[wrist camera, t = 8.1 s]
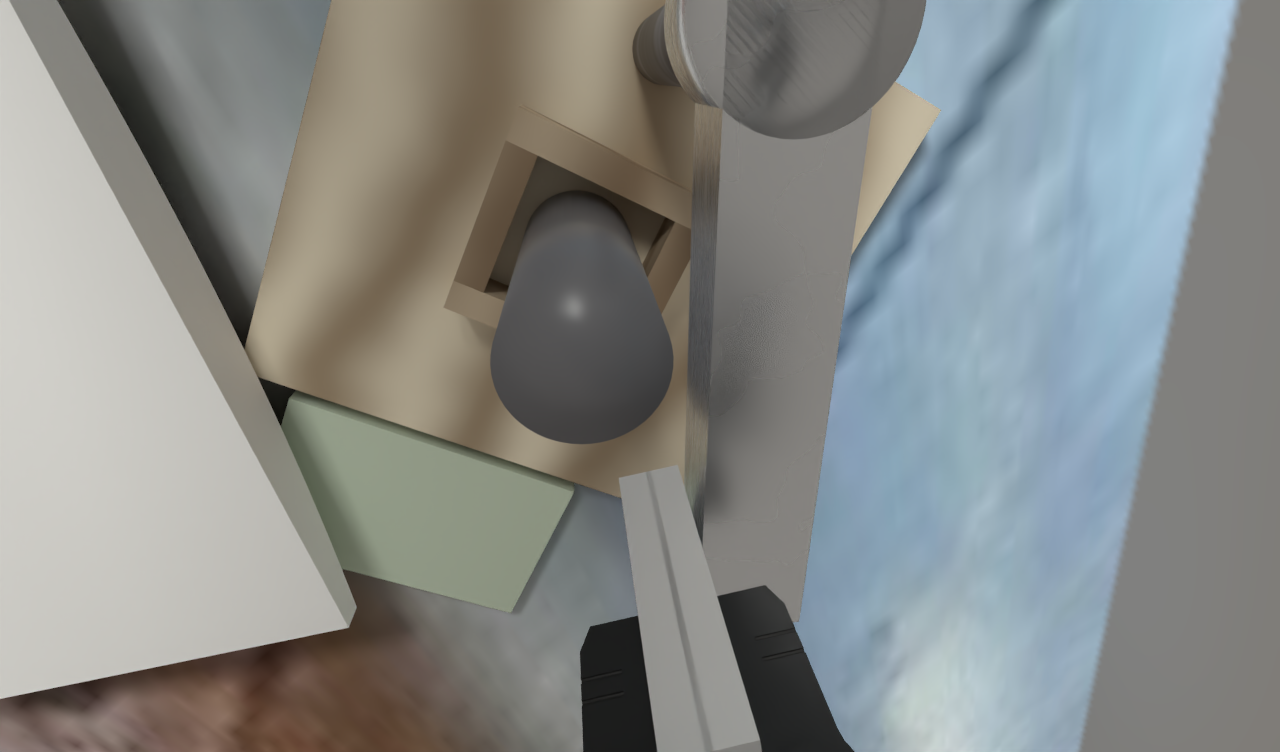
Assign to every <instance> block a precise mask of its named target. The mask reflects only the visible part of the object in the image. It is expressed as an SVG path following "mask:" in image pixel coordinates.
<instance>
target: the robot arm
mask: <svg viewBox="0 0 1280 752" xmlns="http://www.w3.org/2000/svg"><path fill="white" fill-rule="evenodd" d="M619 484H620V491H621V498H622V505H623V512H624V520H625V527H626V534H627V541H628V548H629V555H630V562H631V569H632V576H633V583H634V590H635V597H636V604H637V611H638V616H635V617H630V618H626V619H621V620H617V621H613V622H608V623H604V624H600V625H595V626H591V627H590V628H589V631H588V633H587V636H586V638H585V641H584V644H583V646H582V649H581V651H580V662H581V680H582V684H581V692H582V704H583V706H582V723H583V752H854V751H853V750H852V748H851V747H850V746H849V745H848V744H847V743H846V742H845V741H844V739H843V737H842V735H841V734H840V732H839V730H838V728H837V726H836V724H835V722H834V719H833V717H832V714H831V712H830V710H829V707H828V705H827V703H826V700H825V698H824V696H823V693H822V691H821V688H820V686H819V684H818V681H817V679H816V677H815V674H814V672H813V669H812V667H811V665H810V662H809V660H808V658H807V655H806V653H805V652H804V649H803V646H802V643H801V641H800V639H799V636H798V634H797V632H796V631H795V627H794V625H793V622H792V620H791V617H790V615H789V613H788V610H787V608H786V606H785V603H784V602H783V601H782V600H780V599H779V598H778V597H777V596H776V595H775V594H774V593H773V592H772V591H771V590H770V589H769V588H768V587H767V586H766V585H763V586H759V587H754V588H750V589H745V590H741V591H737V592H732V593H728V594H724V595H719V596H717V594H716V591H715V588H714V584H713V581H712V578H711V574H710V571H709V568H708V564H707V561H706V558H705V554H704V551H703V548H702V544H701V541H700V538H699V534H698V531H697V528H696V524H695V521H694V518H693V514H692V511H691V508H690V504H689V501H688V498H687V494H686V491H685V488H684V484H683V481H682V477H681V474H680V471H679V467H678V465H674V466H670V467H665V468H661V469H657V470H652V471H647V472H643V473H638V474H634V475H630V476H625V477H621V478H619Z"/></svg>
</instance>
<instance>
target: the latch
mask: <svg viewBox="0 0 1280 752" xmlns="http://www.w3.org/2000/svg"><path fill="white" fill-rule="evenodd" d="M925 6H926V0H666V3H665V12H664V35H665V42H666V48H667V53H668V56H669V60H670V63H671V66H672V68H673V71H674V73H675V75H676V78H677V79H678V81H679V83H680V85H681V86H682V88H683V90H684V91H685V92H686V93H687V95H688V96H689V97H690V99H691V100H692V101H693V102H694V103H695V112H694V148H693V184H692V220H691V256H690V292H689V328H688V364H687V400H686V436H685V472H684V488H685V491H686V494H687V498H688V501H689V504H690V508H691V511H692V514H693V518H694V521H695V524H696V528H697V531H698V534H699V538H700V541H701V544H702V548H703V551H704V554H705V558H706V561H707V564H708V568H709V571H710V574H711V578H712V581H713V584H714V588H715V591H716V594H717V596H719V595H724V594H728V593H732V592H737V591H741V590H745V589H750V588H754V587H759V586H763V585H766V586H767V587H768V588H769V589H770V590H771V591H772V592H773V593H774V594H775V595H776V596H777V597H778V598H779V599H780V600H782V601H783V602H784V603H785V606H786V608H787V610H788V613H789V615H790V617H791V620H792V622H799V618H800V611H801V604H802V597H803V590H804V583H805V576H806V569H807V562H808V555H809V548H810V541H811V534H812V527H813V520H814V513H815V506H816V499H817V492H818V485H819V478H820V471H821V464H822V457H823V450H824V443H825V436H826V429H827V422H828V415H829V408H830V401H831V394H832V387H833V380H834V373H835V366H836V359H837V352H838V345H839V338H840V331H841V324H842V317H843V310H844V303H845V296H846V289H847V282H848V275H849V268H850V261H851V254H852V247H853V240H854V233H855V226H856V219H857V212H858V205H859V198H860V191H861V184H862V177H863V170H864V163H865V156H866V149H867V142H868V135H869V128H870V121H871V114H872V107H873V106H874V105H875V104H876V103H877V102H878V101H879V100H880V99H881V98H882V97H883V96H884V95H885V94H886V92H887V91H888V90H889V89H890V88H891V86H892V85H893V84H894V82H895V81H896V79H897V78H898V77H899V75H900V73H901V72H902V70H903V68H904V67H905V65H906V63H907V61H908V59H909V57H910V55H911V53H912V51H913V48H914V46H915V44H916V41H917V38H918V35H919V32H920V29H921V25H922V21H923V16H924V12H925Z"/></svg>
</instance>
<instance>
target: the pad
mask: <svg viewBox="0 0 1280 752" xmlns="http://www.w3.org/2000/svg"><path fill="white" fill-rule="evenodd" d="M281 429H282V431H283V433H284V435H285V437H286V440H287V442H288V444H289V446H290V448H291V451H292V453H293V455H294V457H295V460H296V462H297V464H298V466H299V469H300V471H301V473H302V475H303V478H304V480H305V482H306V485H307V487H308V489H309V491H310V494H311V496H312V498H313V501H314V503H315V505H316V508H317V510H318V513H319V515H320V517H321V520H322V522H323V524H324V527H325V529H326V532H327V534H328V536H329V539H330V541H331V544H332V546H333V549H334V551H335V553H336V556H337V558H338V561H339V563H340V566H341V568H342V569H345V570H349V571H352V572H356V573H360V574H364V575H368V576H371V577H375V578H379V579H383V580H387V581H390V582H394V583H398V584H402V585H406V586H409V587H413V588H417V589H421V590H425V591H428V592H432V593H436V594H440V595H444V596H447V597H451V598H455V599H459V600H463V601H466V602H470V603H474V604H478V605H482V606H485V607H489V608H493V609H497V610H501V611H504V612H508V613H511V612H512V610H513V608H514V606H515V604H516V602H517V601H518V599H519V597H520V595H521V593H522V591H523V589H524V587H525V585H526V583H527V581H528V579H529V578H530V576H531V574H532V572H533V570H534V568H535V566H536V564H537V562H538V560H539V558H540V556H541V555H542V553H543V551H544V549H545V547H546V545H547V543H548V541H549V539H550V537H551V535H552V534H553V532H554V530H555V528H556V526H557V524H558V522H559V520H560V518H561V516H562V514H563V512H564V511H565V509H566V507H567V505H568V503H569V501H570V499H571V497H572V495H573V493H574V483H573V482H570V481H567V480H564V479H561V478H558V477H555V476H552V475H549V474H546V473H543V472H540V471H537V470H534V469H531V468H528V467H525V466H522V465H519V464H516V463H513V462H510V461H507V460H504V459H501V458H498V457H495V456H492V455H489V454H486V453H483V452H480V451H477V450H474V449H471V448H468V447H465V446H462V445H459V444H456V443H453V442H450V441H447V440H444V439H441V438H438V437H435V436H432V435H429V434H426V433H423V432H420V431H417V430H414V429H411V428H408V427H405V426H402V425H399V424H396V423H393V422H390V421H387V420H384V419H381V418H378V417H375V416H372V415H369V414H366V413H363V412H360V411H357V410H354V409H351V408H348V407H345V406H342V405H339V404H336V403H333V402H330V401H327V400H324V399H321V398H318V397H315V396H312V395H309V394H306V393H303V392H300V391H297V390H296V391H295V392H294V393H293V394H292V396H291V397H290V398H289V400H288V404H287V407H286V411H285V414H284V418H283V421H282V425H281Z"/></svg>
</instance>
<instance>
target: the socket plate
mask: <svg viewBox="0 0 1280 752" xmlns="http://www.w3.org/2000/svg"><path fill="white" fill-rule="evenodd" d="M665 3H666V0H331V4H330V8H329V12H328V16H327V20H326V24H325V28H324V32H323V36H322V40H321V44H320V48H319V52H318V56H317V60H316V64H315V68H314V72H313V76H312V80H311V84H310V88H309V92H308V96H307V100H306V104H305V108H304V112H303V116H302V120H301V124H300V128H299V132H298V136H297V140H296V144H295V148H294V152H293V156H292V160H291V164H290V169H289V173H288V177H287V181H286V185H285V189H284V193H283V197H282V201H281V205H280V209H279V213H278V217H277V221H276V225H275V229H274V233H273V237H272V241H271V245H270V249H269V253H268V257H267V261H266V265H265V269H264V273H263V277H262V281H261V285H260V289H259V293H258V297H257V301H256V305H255V309H254V313H253V317H252V321H251V325H250V329H249V333H248V337H247V341H246V345H245V349H244V350H245V352H246V354H247V356H248V359H249V361H250V363H251V365H252V367H253V369H254V371H255V373H256V375H257V377H259V378H262V379H265V380H268V381H271V382H274V383H277V384H280V385H283V386H286V387H289V388H292V389H295V390H298V391H301V392H304V393H307V394H310V395H313V396H316V397H319V398H322V399H325V400H328V401H331V402H334V403H337V404H340V405H343V406H346V407H349V408H352V409H355V410H358V411H361V412H364V413H367V414H370V415H373V416H376V417H379V418H382V419H385V420H388V421H391V422H394V423H397V424H400V425H403V426H406V427H409V428H412V429H415V430H418V431H421V432H424V433H427V434H430V435H433V436H436V437H439V438H442V439H445V440H448V441H451V442H454V443H457V444H460V445H463V446H466V447H469V448H472V449H475V450H478V451H481V452H484V453H487V454H490V455H493V456H496V457H499V458H502V459H505V460H508V461H511V462H514V463H517V464H520V465H523V466H526V467H529V468H532V469H535V470H538V471H541V472H544V473H547V474H550V475H553V476H556V477H559V478H562V479H565V480H568V481H571V482H574V483H577V484H580V485H583V486H586V487H589V488H592V489H595V490H598V491H601V492H604V493H607V494H610V495H613V496H616V497H619V498H621V491H620V484H619V478H621V477H625V476H630V475H634V474H638V473H643V472H647V471H652V470H657V469H661V468H665V467H670V466H674V465H678V467H679V471H680V474H681V477H682V481H683V484H684V472H685V436H686V400H687V364H688V328H689V292H690V256H691V220H692V184H693V148H694V112H695V103H694V102H693V101H692V100H691V99H690V97H689V96H688V95H687V93H686V92H685V91H684V90H683V88H682V86H681V85H680V83H679V81H678V79H677V78H676V75H675V73H674V71H673V68H672V66H671V63H670V60H669V56H668V53H667V48H666V42H665V35H664V12H665ZM940 111H941V110H940V109H939V108H937V107H935V106H934V105H932V104H930V103H929V102H927V101H926V100H924V99H922V98H921V97H919V96H918V95H916V94H914V93H913V92H911V91H909V90H908V89H906V88H905V87H903V86H901V85H900V84H898V83H896V82H894V84H893V85H892V86H891V88H890V89H889V90H888V91H887V92H886V94H885V95H884V96H883V97H882V98H881V99H880V100H879V101H878V102H877V103H876V104H875V105H874V106H873V107H872V114H871V121H870V128H869V135H868V142H867V149H866V156H865V163H864V170H863V177H862V184H861V191H860V198H859V205H858V212H857V219H856V226H855V233H854V240H853V247H852V253H853V252H854V250H855V249H856V247H857V245H858V244H859V242H860V240H861V239H862V237H863V236H864V234H865V232H866V231H867V229H868V228H869V226H870V224H871V223H872V221H873V219H874V218H875V216H876V215H877V213H878V211H879V210H880V208H881V207H882V205H883V203H884V202H885V200H886V199H887V197H888V195H889V194H890V192H891V190H892V189H893V187H894V186H895V184H896V182H897V181H898V179H899V178H900V176H901V174H902V173H903V171H904V169H905V168H906V166H907V165H908V163H909V161H910V160H911V158H912V157H913V155H914V153H915V152H916V150H917V148H918V147H919V145H920V144H921V142H922V140H923V139H924V137H925V136H926V134H927V132H928V131H929V129H930V127H931V126H932V124H933V123H934V121H935V119H936V118H937V116H938V115H939V113H940ZM572 190H580V191H587V192H591V193H595V194H597V195H600V196H602V197H603V198H605V199H607V200H608V201H609V202H611V203H612V204H613V205H614V206H615V207H616V208H617V209H618V210H619V211H620V213H621V214H622V216H623V217H624V219H625V221H626V223H627V226H628V228H629V231H630V233H631V236H632V239H633V241H634V244H635V247H636V249H637V252H638V254H639V257H640V260H641V262H642V265H643V268H644V270H645V273H646V275H647V278H648V281H649V283H650V286H651V289H652V291H653V294H654V297H655V299H656V302H657V304H658V307H659V310H660V312H661V315H662V318H663V320H664V323H665V325H666V328H667V331H668V333H669V336H670V340H671V343H672V348H673V356H674V360H673V373H672V379H671V382H670V385H669V388H668V390H667V393H666V395H665V397H664V399H663V400H662V402H661V403H660V405H659V407H658V408H657V409H656V410H655V411H654V413H653V414H652V415H651V416H650V417H649V418H648V419H647V420H646V421H645V422H643V423H642V424H641V425H639V426H638V427H637V428H635V429H634V430H632V431H630V432H628V433H627V434H625V435H622V436H620V437H618V438H615V439H612V440H608V441H605V442H600V443H594V444H569V443H563V442H558V441H554V440H551V439H548V438H545V437H543V436H540V435H538V434H536V433H534V432H533V431H531V430H529V429H528V428H526V427H525V426H524V425H522V424H521V423H519V422H518V421H517V420H516V419H515V418H514V417H513V416H512V415H511V414H510V413H509V411H508V410H507V409H506V408H505V406H504V405H503V403H502V401H501V400H500V398H499V396H498V394H497V392H496V389H495V387H494V384H493V380H492V376H491V368H490V354H491V348H492V343H493V339H494V336H495V333H496V329H497V326H498V322H499V319H500V315H501V312H502V309H503V305H504V302H505V298H506V295H507V292H508V288H509V285H510V281H511V278H512V275H513V271H514V268H515V264H516V261H517V257H518V254H519V251H520V247H521V244H522V240H523V237H524V234H525V230H526V227H527V224H528V222H529V219H530V217H531V216H532V214H533V213H534V211H535V210H536V209H537V208H538V206H539V205H540V204H542V203H543V202H544V201H545V200H547V199H548V198H550V197H552V196H554V195H556V194H558V193H562V192H566V191H572ZM851 255H852V254H851Z"/></svg>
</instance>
